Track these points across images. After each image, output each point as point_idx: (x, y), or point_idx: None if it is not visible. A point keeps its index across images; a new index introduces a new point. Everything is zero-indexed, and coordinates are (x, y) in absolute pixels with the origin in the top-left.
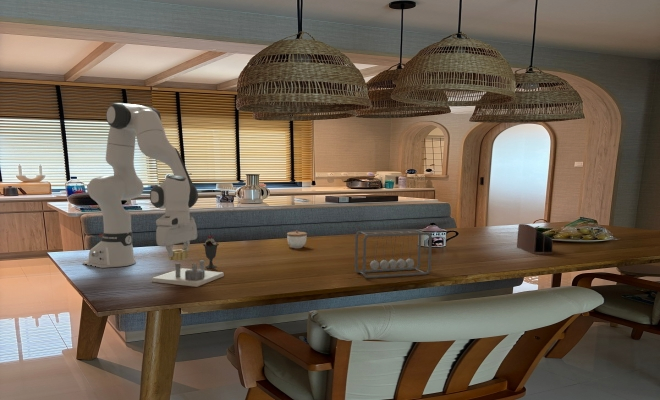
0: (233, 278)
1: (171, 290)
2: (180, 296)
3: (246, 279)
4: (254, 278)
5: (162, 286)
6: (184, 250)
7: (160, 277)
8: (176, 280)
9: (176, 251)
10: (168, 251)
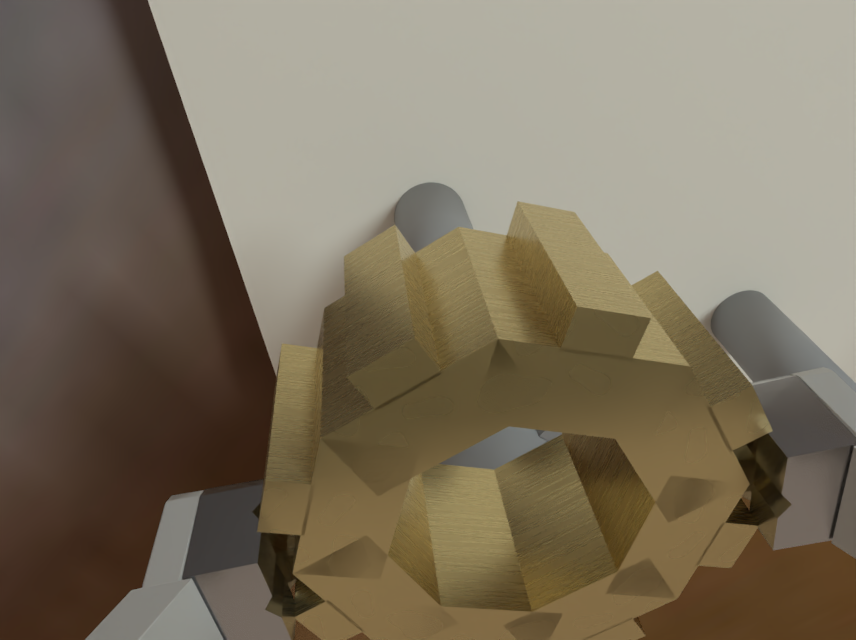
0: (759, 538)
1: (71, 459)
2: (22, 632)
3: (757, 616)
4: (808, 632)
5: (89, 261)
6: (651, 576)
7: (230, 15)
8: (268, 351)
9: (573, 414)
10: (126, 625)
